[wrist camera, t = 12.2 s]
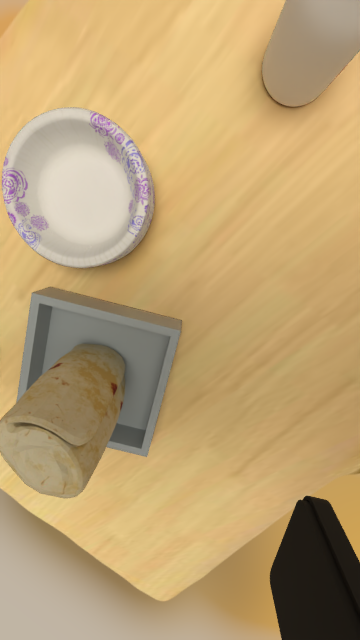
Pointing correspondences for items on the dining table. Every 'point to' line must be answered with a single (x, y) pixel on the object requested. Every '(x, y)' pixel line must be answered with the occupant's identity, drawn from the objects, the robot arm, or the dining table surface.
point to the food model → (65, 421)
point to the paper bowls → (77, 188)
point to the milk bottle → (310, 48)
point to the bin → (116, 333)
